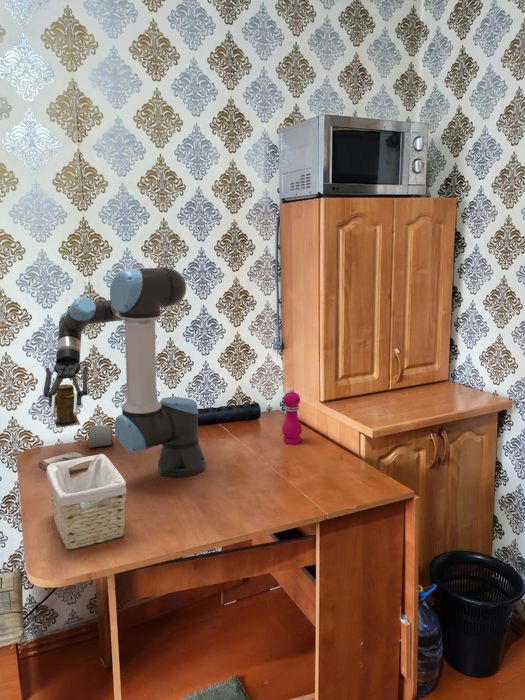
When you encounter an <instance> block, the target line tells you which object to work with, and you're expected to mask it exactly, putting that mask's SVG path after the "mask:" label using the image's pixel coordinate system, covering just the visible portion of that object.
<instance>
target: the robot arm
mask: <svg viewBox="0 0 525 700" xmlns="http://www.w3.org/2000/svg"><path fill="white" fill-rule="evenodd" d="M186 292H187V283H186V280H185V278H184V277H183V275H182V274H181V273H180V272H179V271H177V270H176V269H173V268H172V267H171V268H170V267H164V266H163V267H144V268H142V267H141V268H136V267H135V268H130V269H123V270H120V271H118V272H117V273H115V276H114V277H113V278H112V280H111V284H110V287H109V299H107V300H96V301H94V300H92V299H91V298H89V297H85V296H80V297H77V298H76V299H74V300H73V302H72V303H71V305H70V307H69V309H68V310H67V311H66V312H65V313H62V314H61V315H60V316H59V317H60V318H59V321H58V335H57V336H58V337H57V347H56V356H55V357H56V358H55V365H54V367H51V368H49V367H46V368H45V369H44V370H45V381H44V386H43V392H42V393H43V396H44V398H48V406H49V408H51V410H50V415H51V417H52V418H55V417H56V412H57V411H56V398H55V397H56V394H57V393H56V391H57V390H56V387H57V386H59V385H62V384H61V383H62V382H63V380H64V379H72V382H73V386H74V388H75V391H76V393H74V410H73V413H74V416H77V417H78V408H79V406H82V397H84V396H87V395H88V393H89V392H88V389H89V387H88V374H89V372H90V369H89V366H87V365H86V366H82V365H81V364H80V363H81V346H82V333H83V332H84V330H85V328H86V327H87V326H88V325H94V324H95V325H96V324H103V323H110V322H122V321H123V322H124V337H125V338H124V339H125V340H124V341H125V372H126V373H125V374H126V379H125V380H126V401H125V402H124V404H122V406H121V411H122V412H121V414H120V415H118V416H117V417H116V418H115V420H114V427H113V428H114V432H115V435H116V438H117V441H118V442H119V443H120V445H121V447H123V449H124V450H126V451H127V452H130V453H137V452H141V451H142V452H143V451H146V450H148V449H151V448H155V447H157V446H160V445H161V450H160V453H159V454H160V455H159V459H158V462H157V471H158V473H159V474H161V475H163V476H166V477H169V478H170V477H171V478H184V477H185V478H186V477H190V476H194V475H197V474H199V473H202V472H203V471H204V470H205V468H206V460H205V457H204V453H203V451H202V448H201V446H200V442H199V441H200V438H199V436H200V435H199V411H198V404H197V402H196V401H195V400H194V399H191V398H187V397H179V396H170V397H169V396H167V397H163V398H161V399H160V400H158V398H157V356H156V355H157V354H156V353H157V351H156V349H157V348H156V342H157V341H156V321H157V320H159V318H160V317H161V309H162V308H167V307H168V308H169V307H173V306H175V305H177V304H179V303H181V301H183V299H184V297H185V296H186ZM79 372H81V374H82V390H81V389H80V385H79V383H78V379H77V377H76V376H77V375H78V373H79ZM54 373H56V376H55V377H56V378H55V379H54V382H53V384H52V377H53V375H54ZM51 384H52V385H51Z"/></svg>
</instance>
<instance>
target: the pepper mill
mask: <svg viewBox="0 0 525 700" xmlns="http://www.w3.org/2000/svg"><path fill="white" fill-rule="evenodd" d="M300 402H301V397H300V395H299V394H298V393H297V392H295V388H293V387H292V388H289V391H288V392H286V393H285V395H284V396H283V403H284V410H285V412H286V416H285V420H284V421H283V425H282V428H281V432H282V434H283V435H284V436H283V438H282V439H283V443H284V444H287V445H297V444H301V441H302V440H301V439H302V437H301V434H302V432H303V427H302V424H301V423H300V420H299V418H298V411H299V410H300V408H299V407H300V406H299V404H301V403H300Z"/></svg>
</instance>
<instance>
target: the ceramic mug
mask: <svg viewBox="0 0 525 700" xmlns="http://www.w3.org/2000/svg"><path fill="white" fill-rule="evenodd" d="M113 440H114V439H113V428H112V426H111V425H89V426H88V441H89V442H88V443H89V445H88V446H89V448H90V449H92V448H99V447H108V446H111V445H112V444H113Z"/></svg>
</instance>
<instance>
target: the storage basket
mask: <svg viewBox="0 0 525 700" xmlns="http://www.w3.org/2000/svg"><path fill="white" fill-rule="evenodd" d="M87 456H88V455H87ZM83 468H88V469H86V470H85V471H84V472H81V473H80V474H78V475H77V476H75V477H71V475H70V473H69V470H72V471H73V470H76V469H83ZM46 477H47V481H48V482H49V483H48V484H49V493H50V499H51V500H50V501H51V504H52V505H51V506H52V511H53V512H52V514H53V518H54V523H55V527H56V529H57V531H58V534H59V535H60V538H61V540H62V542H63V544H64V548H65V549H66V550H73V549H78V548H83V547H86V546H91V545H94V544H95V543H97V544H100V543H103V542H106V541H110V540H111V541H112V540H114V539H116V538H120V537H123V536H124V534H125V525H126V523H125V522H126V519H125V516H126V515H125V513H126V510H125V509H126V506H125V505H126V504H125V503H126V496H127V495H126V494H127V493H128V492H127V487H126V486H127V484H126V483H127V482H126V481H125V479H124V478H123V476H122V474H121V473H120V472H119V470H118V469H117V468H116V466H114V464H113V463H112V461H111V460H110V459H109V458H108V457H107V456H106V455H105V454H104V453H99V454H96V455H90V456H88V457H83V458H77V459H72V460H67V461H62V462H57V463H52V464H50V465H49V466H48V467H47V471H46Z"/></svg>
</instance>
